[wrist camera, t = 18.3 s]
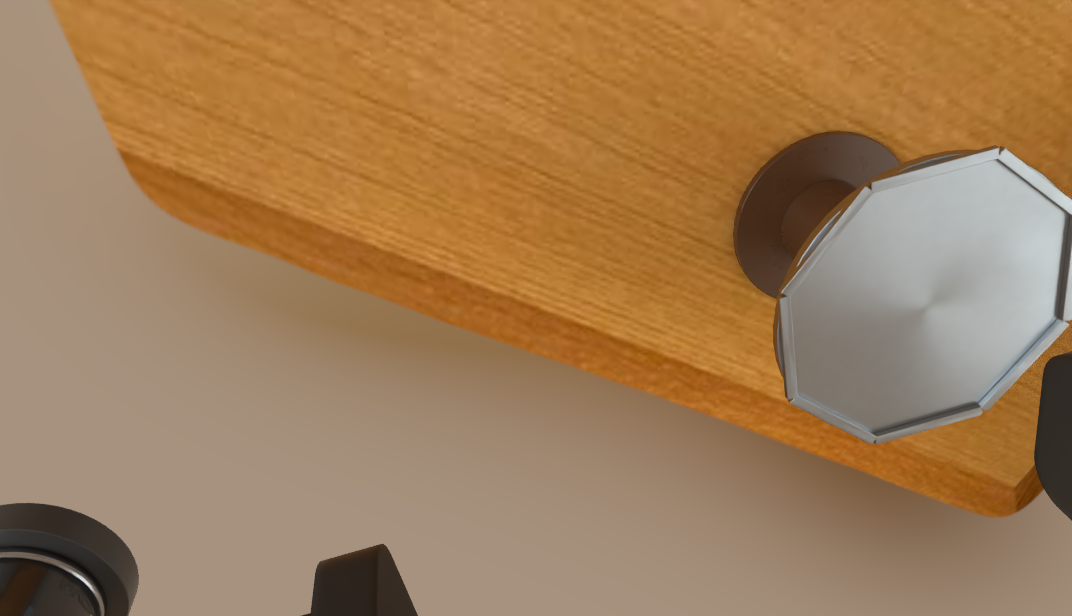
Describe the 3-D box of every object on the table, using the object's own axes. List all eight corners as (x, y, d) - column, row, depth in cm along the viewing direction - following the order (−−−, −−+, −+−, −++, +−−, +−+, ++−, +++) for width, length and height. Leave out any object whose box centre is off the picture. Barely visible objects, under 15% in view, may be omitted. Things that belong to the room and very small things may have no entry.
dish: (712, 355, 48) (790, 471, 39) (682, 132, 41) (767, 207, 32) (935, 293, 49) (1065, 393, 39) (941, 62, 42) (1101, 115, 32)
